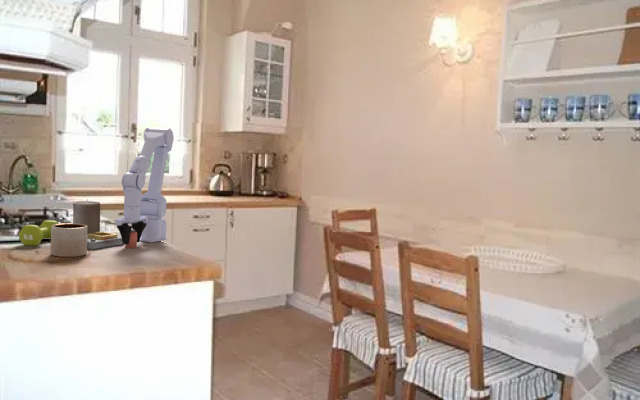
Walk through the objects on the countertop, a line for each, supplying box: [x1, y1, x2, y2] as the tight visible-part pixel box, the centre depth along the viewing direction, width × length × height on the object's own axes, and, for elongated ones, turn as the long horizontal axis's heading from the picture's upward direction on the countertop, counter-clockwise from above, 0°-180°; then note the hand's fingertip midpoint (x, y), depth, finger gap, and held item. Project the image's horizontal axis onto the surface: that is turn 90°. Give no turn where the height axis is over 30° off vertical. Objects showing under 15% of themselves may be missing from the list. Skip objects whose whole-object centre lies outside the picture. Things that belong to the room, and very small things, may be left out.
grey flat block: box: [87, 231, 124, 251], centre depth 197 cm, size 18×11×4 cm, turn 156°
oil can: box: [124, 229, 138, 249], centre depth 199 cm, size 4×4×6 cm
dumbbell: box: [18, 219, 59, 247], centre depth 196 cm, size 16×8×7 cm, turn 178°
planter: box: [50, 222, 88, 258], centre depth 179 cm, size 11×11×10 cm
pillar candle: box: [72, 199, 101, 234], centre depth 210 cm, size 10×10×15 cm
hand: (131, 243), depth 199 cm, fingers open, 5 cm apart
